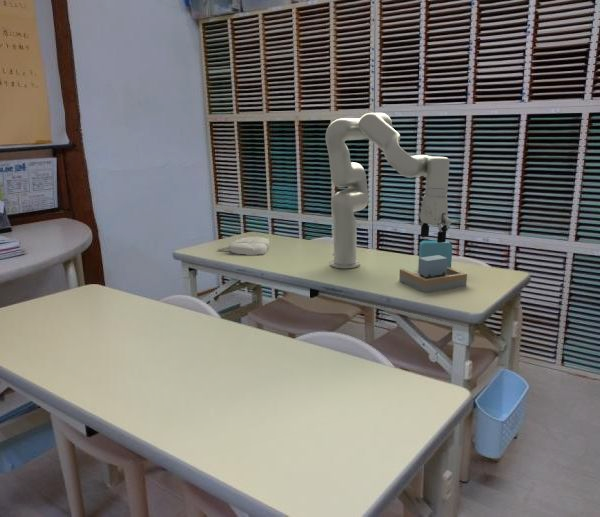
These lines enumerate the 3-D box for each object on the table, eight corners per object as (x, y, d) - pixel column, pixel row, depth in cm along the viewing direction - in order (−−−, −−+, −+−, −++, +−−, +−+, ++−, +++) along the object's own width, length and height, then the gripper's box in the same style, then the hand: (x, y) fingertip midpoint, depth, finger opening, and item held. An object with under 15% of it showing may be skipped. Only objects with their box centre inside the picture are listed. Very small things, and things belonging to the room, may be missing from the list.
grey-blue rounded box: (417, 276, 185) (418, 257, 183) (437, 273, 188) (438, 254, 186) (426, 280, 180) (427, 261, 178) (447, 277, 183) (448, 258, 181)
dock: (399, 280, 188) (399, 269, 187) (438, 274, 195) (438, 263, 194) (425, 292, 174) (425, 280, 173) (466, 285, 181) (467, 273, 180)
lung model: (266, 255, 230) (213, 260, 233) (271, 247, 247) (222, 252, 250) (264, 241, 229) (211, 246, 232) (270, 234, 245) (220, 239, 248)
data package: (448, 269, 202) (450, 240, 199) (451, 272, 198) (452, 242, 195) (418, 269, 203) (419, 240, 200) (420, 272, 199) (421, 243, 196)
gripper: (412, 189, 182) (410, 235, 187) (443, 196, 167) (439, 245, 172) (429, 188, 185) (426, 233, 190) (461, 195, 170) (456, 243, 174)
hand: (432, 239), depth 181 cm, fingers open, 9 cm apart
